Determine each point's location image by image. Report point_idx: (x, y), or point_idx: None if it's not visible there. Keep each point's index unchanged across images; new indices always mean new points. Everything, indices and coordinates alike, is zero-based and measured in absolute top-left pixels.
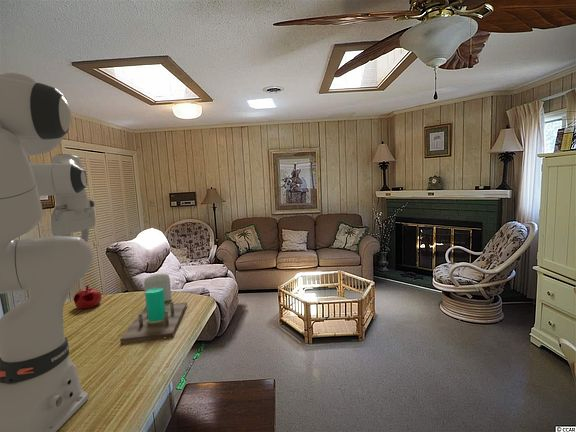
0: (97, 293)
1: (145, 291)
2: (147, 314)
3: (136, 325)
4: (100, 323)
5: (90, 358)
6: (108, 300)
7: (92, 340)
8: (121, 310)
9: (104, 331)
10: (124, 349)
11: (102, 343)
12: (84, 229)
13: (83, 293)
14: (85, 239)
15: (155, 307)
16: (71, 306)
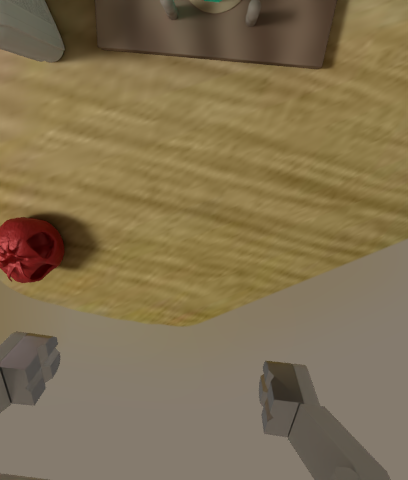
0: (18, 227)
1: (29, 46)
2: (177, 15)
3: (246, 38)
4: (166, 169)
5: (360, 126)
6: (7, 201)
7: (263, 155)
8: (89, 137)
9: (221, 141)
10: (358, 46)
11: (292, 123)
12: (3, 475)
13: (32, 261)
14: (37, 355)
15: None
16: None
